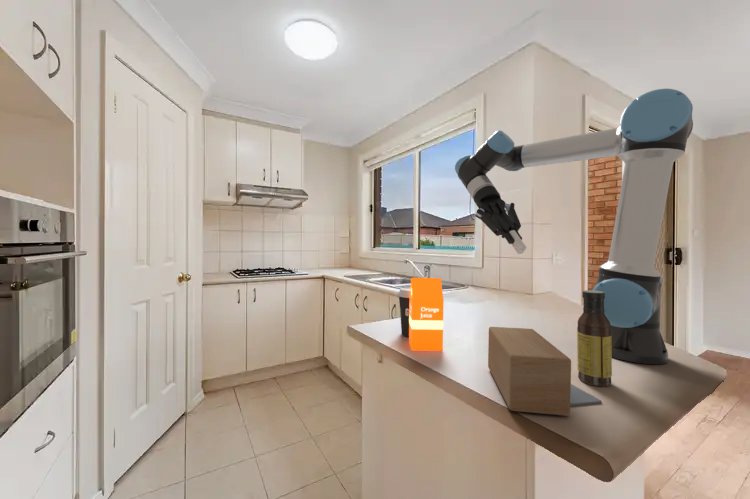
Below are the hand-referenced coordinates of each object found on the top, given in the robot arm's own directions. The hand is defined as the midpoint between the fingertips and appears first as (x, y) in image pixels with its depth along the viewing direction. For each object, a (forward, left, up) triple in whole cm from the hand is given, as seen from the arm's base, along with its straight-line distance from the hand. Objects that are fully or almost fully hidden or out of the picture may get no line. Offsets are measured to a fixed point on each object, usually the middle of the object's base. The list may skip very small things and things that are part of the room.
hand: (522, 250), depth 88 cm
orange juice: (+27, 0, -28) cm, 39 cm away
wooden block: (+7, +15, -23) cm, 28 cm away
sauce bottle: (-9, +18, -28) cm, 35 cm away
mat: (+2, +24, -28) cm, 37 cm away
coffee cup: (+31, -11, -28) cm, 43 cm away
